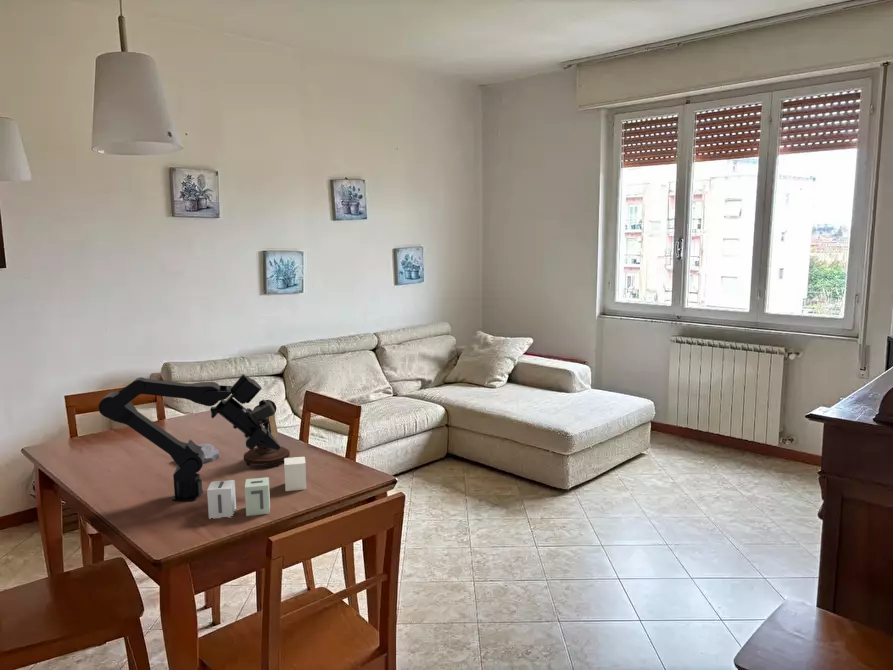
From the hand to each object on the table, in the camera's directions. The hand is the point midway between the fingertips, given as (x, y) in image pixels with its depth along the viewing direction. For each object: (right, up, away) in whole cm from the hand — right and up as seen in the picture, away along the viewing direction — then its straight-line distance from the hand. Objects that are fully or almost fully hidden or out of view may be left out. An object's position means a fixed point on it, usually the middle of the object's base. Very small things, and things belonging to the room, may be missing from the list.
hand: (279, 448), depth 188 cm
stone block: (-33, -9, +26) cm, 43 cm away
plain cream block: (+4, -12, +3) cm, 13 cm away
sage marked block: (-2, -14, -14) cm, 20 cm away
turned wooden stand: (-11, -9, +25) cm, 28 cm away
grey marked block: (-11, -15, -16) cm, 24 cm away
